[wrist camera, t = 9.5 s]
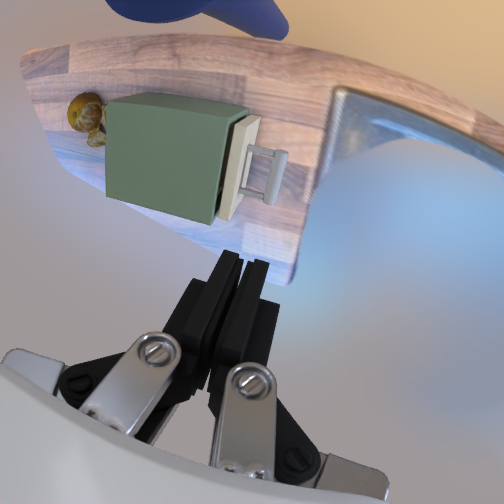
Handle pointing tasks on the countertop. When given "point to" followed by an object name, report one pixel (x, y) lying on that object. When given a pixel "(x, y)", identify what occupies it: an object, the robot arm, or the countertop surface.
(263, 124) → the countertop surface
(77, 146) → the countertop surface
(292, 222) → the countertop surface
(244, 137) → the drawer
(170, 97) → the cabinet
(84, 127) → the fruit
